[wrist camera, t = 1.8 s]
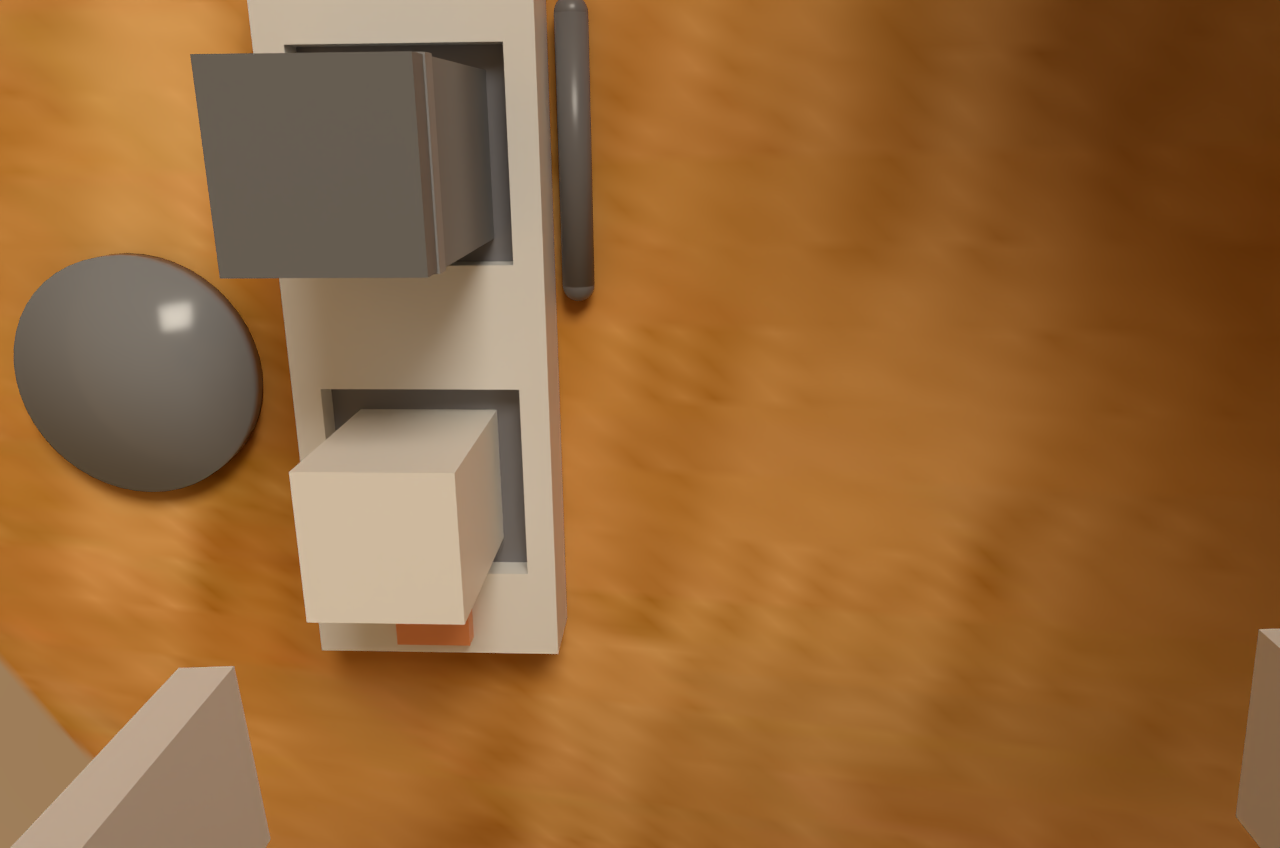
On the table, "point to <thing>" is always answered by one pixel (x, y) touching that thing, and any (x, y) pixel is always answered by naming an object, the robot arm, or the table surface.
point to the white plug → (399, 516)
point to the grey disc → (138, 371)
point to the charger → (344, 162)
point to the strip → (463, 296)
